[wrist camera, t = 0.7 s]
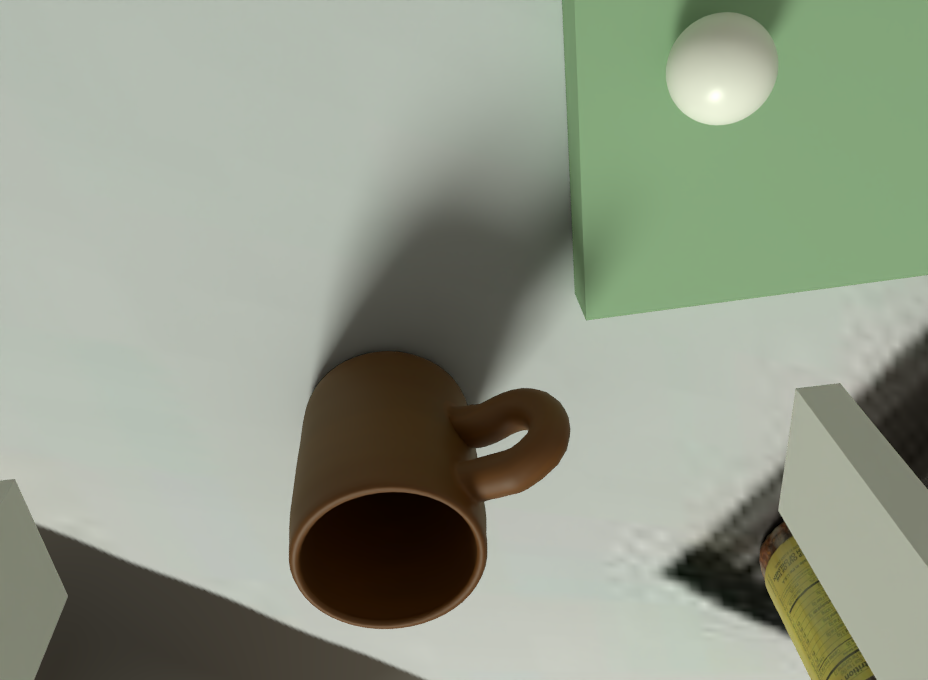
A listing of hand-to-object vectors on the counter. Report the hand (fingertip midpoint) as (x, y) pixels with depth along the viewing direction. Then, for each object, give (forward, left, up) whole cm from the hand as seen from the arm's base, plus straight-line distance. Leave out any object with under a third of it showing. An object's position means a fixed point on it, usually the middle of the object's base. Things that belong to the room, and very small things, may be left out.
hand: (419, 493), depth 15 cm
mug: (+12, 0, -22) cm, 25 cm away
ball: (-2, +11, -17) cm, 20 cm away
